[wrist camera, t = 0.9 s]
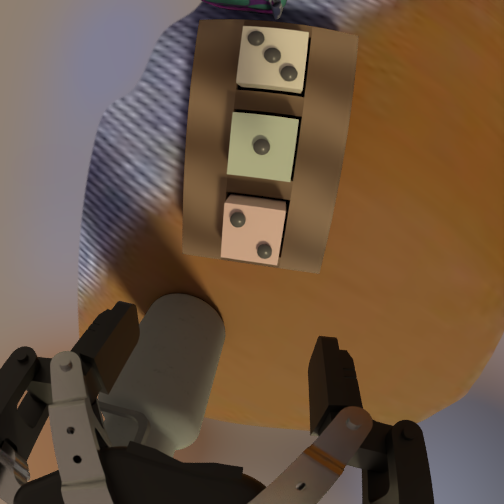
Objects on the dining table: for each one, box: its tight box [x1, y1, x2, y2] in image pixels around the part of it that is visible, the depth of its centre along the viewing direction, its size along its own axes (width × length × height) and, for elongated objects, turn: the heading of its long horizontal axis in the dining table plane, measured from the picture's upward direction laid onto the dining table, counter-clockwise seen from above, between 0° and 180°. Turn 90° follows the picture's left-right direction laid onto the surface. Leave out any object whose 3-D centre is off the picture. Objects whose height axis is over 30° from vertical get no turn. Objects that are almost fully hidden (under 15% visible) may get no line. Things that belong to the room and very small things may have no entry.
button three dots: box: [236, 26, 309, 94], centre depth 16 cm, size 4×4×3 cm
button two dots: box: [221, 194, 286, 265], centre depth 22 cm, size 4×4×3 cm
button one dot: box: [227, 112, 299, 182], centre depth 19 cm, size 4×4×3 cm
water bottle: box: [98, 293, 225, 458], centre depth 21 cm, size 10×10×28 cm
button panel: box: [183, 19, 358, 274], centre depth 22 cm, size 20×12×4 cm, turn 174°
